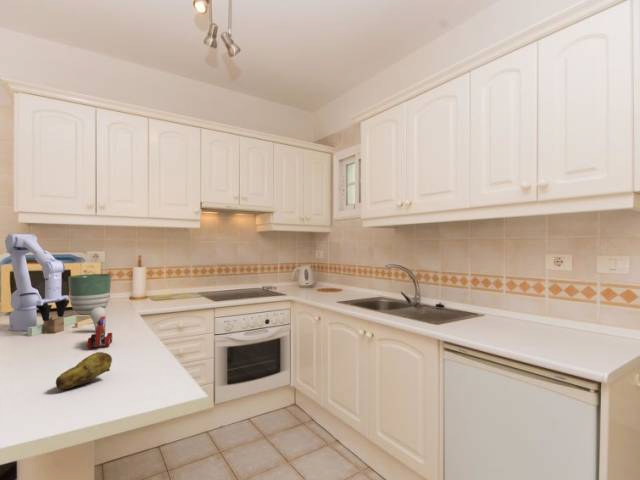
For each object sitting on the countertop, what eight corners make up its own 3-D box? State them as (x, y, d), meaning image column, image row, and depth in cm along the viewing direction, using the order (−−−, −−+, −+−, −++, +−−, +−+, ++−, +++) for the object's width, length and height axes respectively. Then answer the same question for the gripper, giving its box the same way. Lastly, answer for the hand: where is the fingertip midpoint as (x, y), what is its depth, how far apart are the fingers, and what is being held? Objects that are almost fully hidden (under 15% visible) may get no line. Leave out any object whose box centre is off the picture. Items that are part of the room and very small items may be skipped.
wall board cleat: (27, 336, 145) (27, 327, 145) (74, 322, 171) (74, 315, 171) (50, 336, 145) (50, 328, 145) (94, 322, 170) (94, 315, 170)
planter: (84, 319, 176) (84, 278, 176) (60, 316, 183) (60, 276, 183) (119, 312, 194) (119, 274, 194) (95, 310, 201) (95, 273, 201)
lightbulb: (98, 334, 148) (98, 308, 148) (86, 333, 149) (86, 308, 149) (109, 330, 154) (109, 306, 154) (98, 330, 155) (98, 305, 155)
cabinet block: (43, 333, 150) (43, 317, 150) (53, 330, 155) (53, 314, 155) (54, 333, 149) (54, 317, 149) (63, 330, 154) (63, 314, 154)
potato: (58, 384, 96) (58, 355, 96) (111, 374, 103) (111, 347, 103) (54, 395, 89) (54, 364, 89) (112, 383, 96) (112, 355, 96)
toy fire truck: (85, 351, 124) (85, 323, 124) (93, 342, 136) (93, 316, 136) (108, 349, 127) (108, 321, 127) (113, 340, 139) (113, 314, 139)
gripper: (47, 290, 144) (47, 322, 144) (74, 286, 159) (74, 315, 159) (32, 290, 145) (31, 322, 145) (60, 285, 159) (60, 315, 159)
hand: (53, 318), depth 152 cm, fingers open, 7 cm apart
